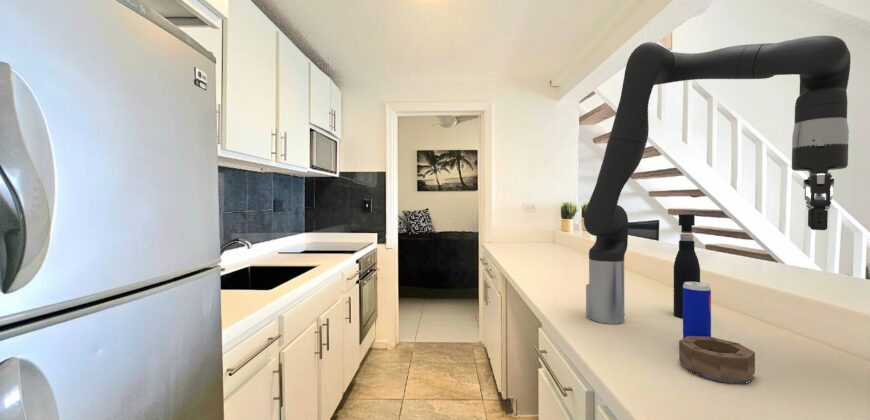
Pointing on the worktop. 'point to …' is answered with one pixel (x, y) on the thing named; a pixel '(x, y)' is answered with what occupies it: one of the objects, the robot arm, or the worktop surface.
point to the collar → (717, 359)
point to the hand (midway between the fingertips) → (816, 228)
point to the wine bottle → (685, 262)
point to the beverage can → (696, 309)
